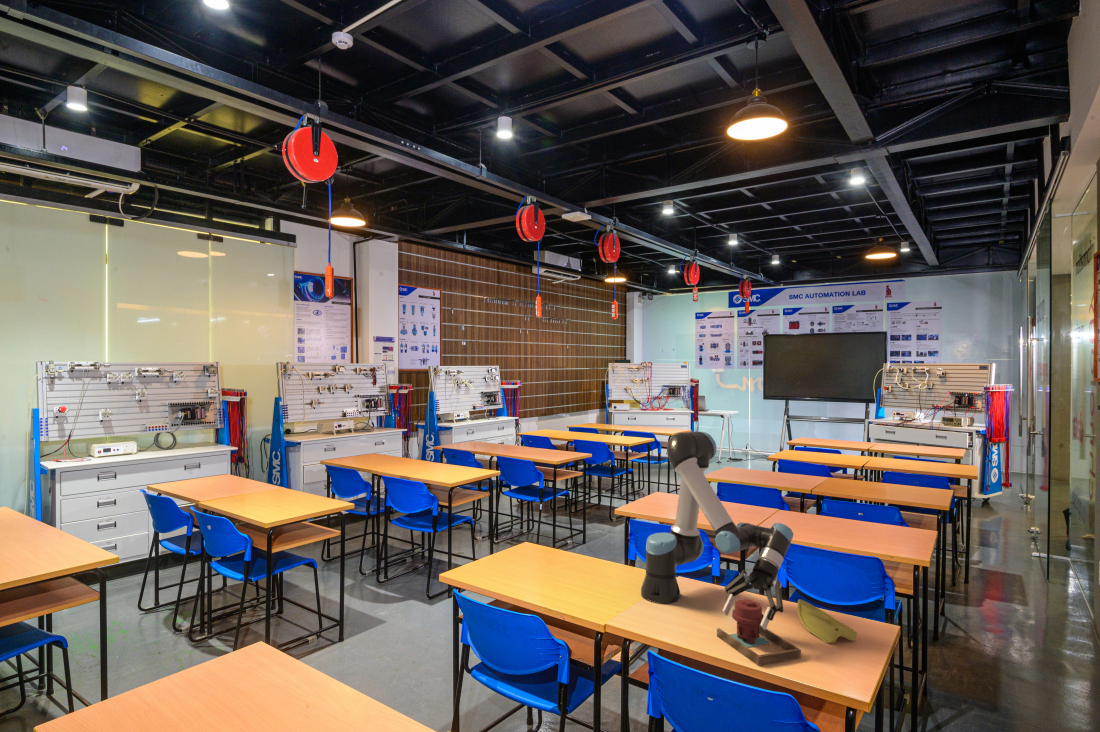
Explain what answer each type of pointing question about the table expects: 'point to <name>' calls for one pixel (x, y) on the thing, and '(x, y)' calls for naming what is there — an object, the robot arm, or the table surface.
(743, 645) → the bay
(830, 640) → the plastic component
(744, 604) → the mechanical component
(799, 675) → the table surface
